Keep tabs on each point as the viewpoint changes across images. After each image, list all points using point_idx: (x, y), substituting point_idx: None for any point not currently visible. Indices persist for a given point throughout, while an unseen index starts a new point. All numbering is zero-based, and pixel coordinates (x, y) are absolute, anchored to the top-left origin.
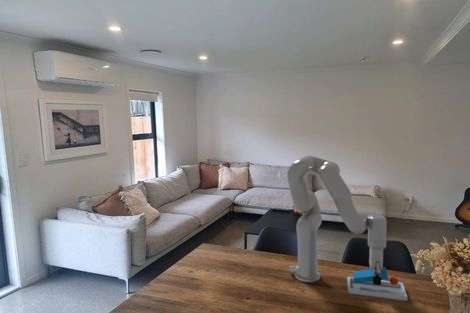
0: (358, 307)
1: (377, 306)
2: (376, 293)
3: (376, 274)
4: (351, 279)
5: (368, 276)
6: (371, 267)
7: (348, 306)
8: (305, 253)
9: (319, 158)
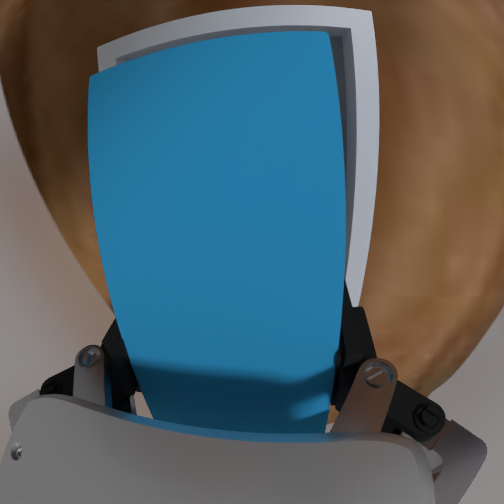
0: (27, 151)
1: (78, 241)
2: None
3: (46, 385)
4: (348, 47)
5: (111, 280)
6: (18, 419)
7: (17, 104)
8: None
9: None
